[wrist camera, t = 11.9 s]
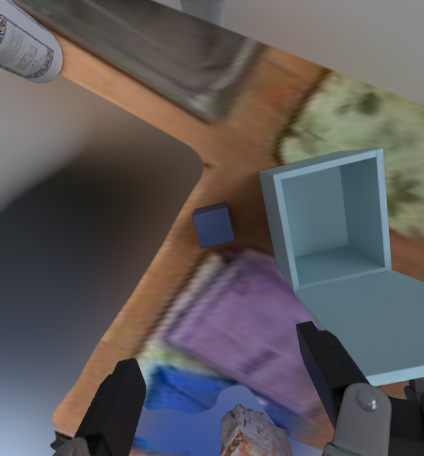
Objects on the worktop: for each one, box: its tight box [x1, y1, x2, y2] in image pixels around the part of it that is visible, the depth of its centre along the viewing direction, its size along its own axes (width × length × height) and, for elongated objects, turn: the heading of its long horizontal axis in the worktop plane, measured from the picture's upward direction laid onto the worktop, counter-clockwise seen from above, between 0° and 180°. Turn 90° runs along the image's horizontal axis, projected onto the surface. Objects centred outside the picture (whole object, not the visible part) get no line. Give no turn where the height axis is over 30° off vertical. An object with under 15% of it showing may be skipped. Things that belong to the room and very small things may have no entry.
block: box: [192, 202, 235, 248], centre depth 39 cm, size 5×5×5 cm
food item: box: [220, 404, 293, 456], centre depth 47 cm, size 14×8×10 cm, turn 56°
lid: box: [295, 271, 424, 401], centre depth 25 cm, size 16×13×5 cm
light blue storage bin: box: [258, 148, 392, 293], centre depth 36 cm, size 16×13×10 cm
